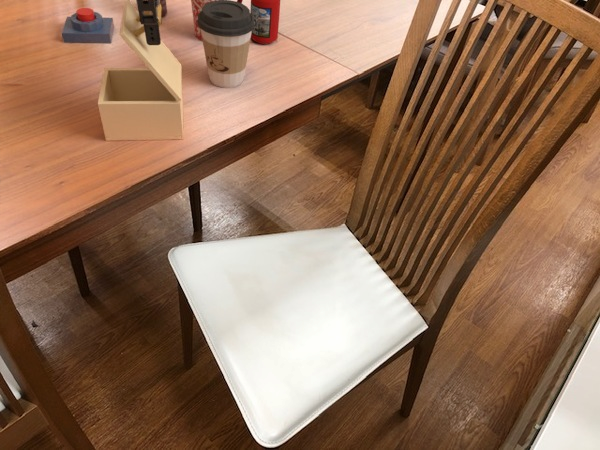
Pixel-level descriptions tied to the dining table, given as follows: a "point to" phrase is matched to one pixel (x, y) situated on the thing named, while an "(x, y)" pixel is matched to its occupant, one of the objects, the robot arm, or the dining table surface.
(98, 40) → the button box
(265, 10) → the beverage can
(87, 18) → the button
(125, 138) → the chest
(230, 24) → the coffee cup
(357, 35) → the dining table surface
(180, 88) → the lid
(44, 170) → the dining table surface
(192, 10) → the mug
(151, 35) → the robot arm
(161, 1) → the can
